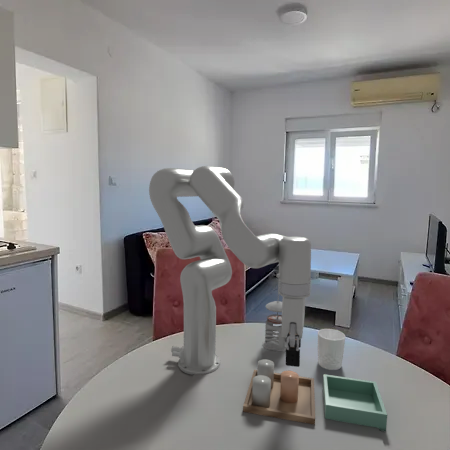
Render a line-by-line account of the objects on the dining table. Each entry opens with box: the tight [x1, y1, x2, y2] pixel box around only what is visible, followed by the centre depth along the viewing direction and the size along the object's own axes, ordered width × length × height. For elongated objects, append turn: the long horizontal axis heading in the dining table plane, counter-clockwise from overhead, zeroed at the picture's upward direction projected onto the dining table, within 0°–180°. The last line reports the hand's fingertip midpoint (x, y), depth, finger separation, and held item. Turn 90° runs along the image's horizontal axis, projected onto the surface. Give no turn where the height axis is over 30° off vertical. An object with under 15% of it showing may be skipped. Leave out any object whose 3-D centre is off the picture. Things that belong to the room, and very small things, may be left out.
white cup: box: [317, 328, 346, 371], centre depth 101 cm, size 8×8×10 cm
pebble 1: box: [256, 358, 275, 388], centre depth 89 cm, size 4×4×6 cm
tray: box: [242, 369, 316, 426], centre depth 85 cm, size 16×16×2 cm
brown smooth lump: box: [280, 370, 300, 403], centre depth 84 cm, size 4×4×6 cm
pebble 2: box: [252, 375, 271, 408], centre depth 82 cm, size 4×4×6 cm
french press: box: [261, 273, 287, 353], centre depth 111 cm, size 10×12×25 cm
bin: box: [322, 373, 388, 432], centre depth 82 cm, size 13×13×4 cm
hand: (293, 355), depth 83 cm, fingers open, 9 cm apart
